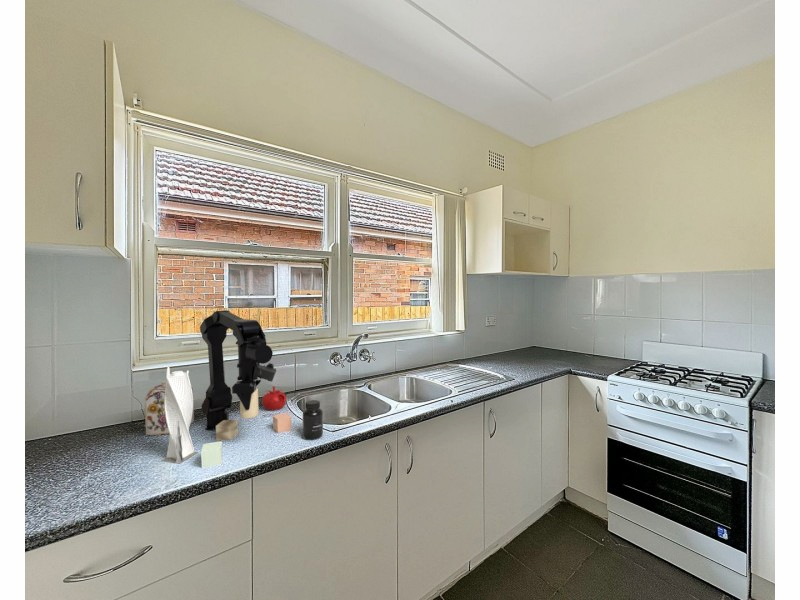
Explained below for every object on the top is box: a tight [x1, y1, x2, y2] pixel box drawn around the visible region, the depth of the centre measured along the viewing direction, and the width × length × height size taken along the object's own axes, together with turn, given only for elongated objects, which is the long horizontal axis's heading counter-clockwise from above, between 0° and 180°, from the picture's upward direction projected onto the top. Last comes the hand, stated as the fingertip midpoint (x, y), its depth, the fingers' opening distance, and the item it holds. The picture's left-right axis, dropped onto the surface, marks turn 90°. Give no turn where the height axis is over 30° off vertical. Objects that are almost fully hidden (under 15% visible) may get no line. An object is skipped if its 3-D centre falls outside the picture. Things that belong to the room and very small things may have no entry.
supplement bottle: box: [302, 399, 324, 441], centre depth 121 cm, size 7×7×12 cm
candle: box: [239, 387, 259, 420], centre depth 114 cm, size 6×6×10 cm
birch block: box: [215, 419, 239, 441], centre depth 122 cm, size 5×5×5 cm
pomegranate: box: [261, 385, 287, 411], centre depth 150 cm, size 10×10×9 cm
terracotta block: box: [272, 412, 293, 434], centre depth 128 cm, size 5×5×5 cm
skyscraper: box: [160, 366, 199, 465], centre depth 108 cm, size 8×8×28 cm
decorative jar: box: [144, 379, 195, 436], centre depth 129 cm, size 12×12×18 cm
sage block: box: [200, 440, 223, 468], centre depth 104 cm, size 5×5×5 cm
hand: (249, 406), depth 115 cm, fingers closed on candle, 5 cm apart
